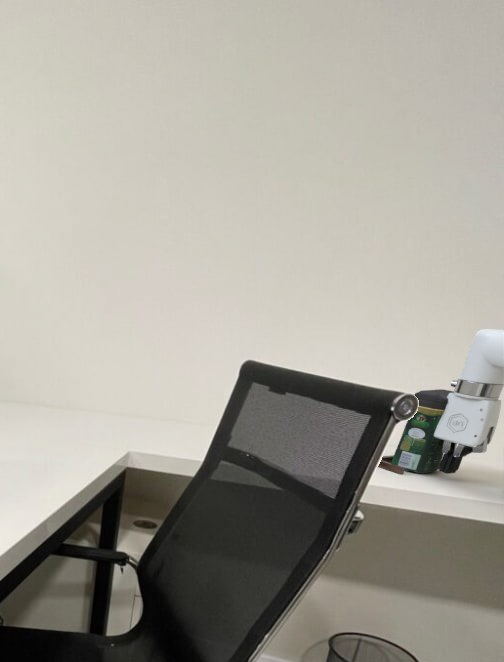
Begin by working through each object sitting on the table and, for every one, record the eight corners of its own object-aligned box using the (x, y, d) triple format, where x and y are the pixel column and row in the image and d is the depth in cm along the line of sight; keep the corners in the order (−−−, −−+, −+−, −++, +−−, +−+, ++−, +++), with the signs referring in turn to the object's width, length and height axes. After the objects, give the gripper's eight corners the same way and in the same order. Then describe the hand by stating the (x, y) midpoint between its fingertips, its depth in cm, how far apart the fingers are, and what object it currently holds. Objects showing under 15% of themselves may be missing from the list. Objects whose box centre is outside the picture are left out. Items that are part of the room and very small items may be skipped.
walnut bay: (445, 469, 131) (448, 463, 130) (400, 474, 125) (402, 468, 124) (412, 459, 137) (414, 453, 137) (367, 463, 132) (369, 457, 131)
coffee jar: (408, 461, 135) (435, 385, 128) (443, 472, 128) (473, 392, 121) (383, 464, 131) (409, 386, 124) (417, 475, 125) (447, 394, 118)
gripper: (430, 383, 121) (402, 462, 128) (507, 397, 109) (472, 484, 115) (451, 383, 124) (424, 460, 131) (530, 397, 111) (494, 482, 118)
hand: (447, 472), depth 123 cm, fingers closed
